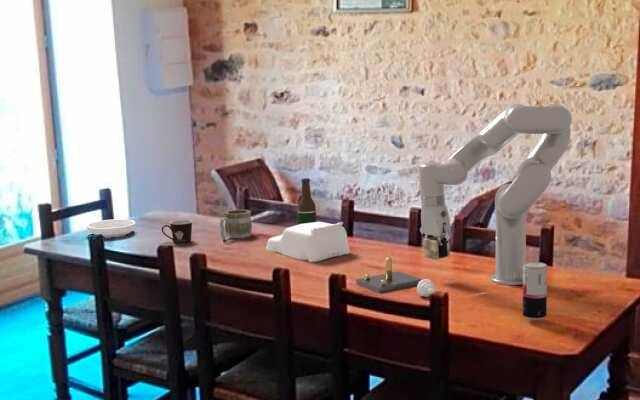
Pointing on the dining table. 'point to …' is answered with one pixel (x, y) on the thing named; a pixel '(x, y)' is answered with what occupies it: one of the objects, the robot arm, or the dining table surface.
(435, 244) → the beige patterned cube
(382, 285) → the pin plate
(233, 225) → the mug
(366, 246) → the dining table surface
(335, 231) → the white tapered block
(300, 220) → the beer bottle
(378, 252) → the dining table surface
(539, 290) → the beverage can
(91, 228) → the bowl
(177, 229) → the coffee mug
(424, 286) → the garlic bulb
